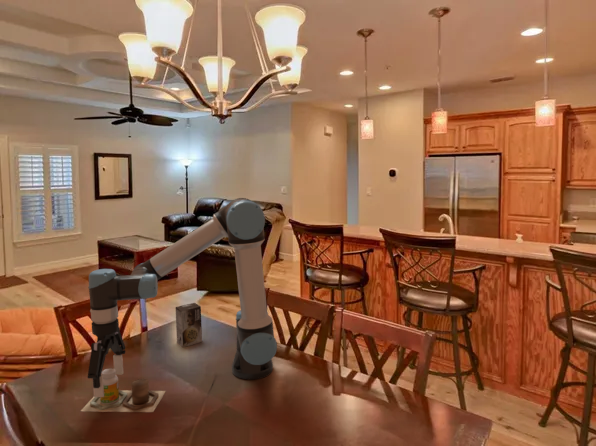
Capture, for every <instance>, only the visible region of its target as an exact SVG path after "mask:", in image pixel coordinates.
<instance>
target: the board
mask: <svg viewBox="0 0 596 446" xmlns="http://www.w3.org/2000/svg"><path fill="white" fill-rule="evenodd" d="M166 392H167V390H150V389H149V401H148V402H147V403H145V404H142V405H134V404H133V403H132V390H127V389H126V390H123V389H122V390H121V389H119V399H118V401H116V402H115V403H112V404H108V405H105V404H102V403H101V401H100V397H94V396H93V397H92V398H91V399H90V400H89V401H88V402H87V403H86V405H85V406H83V408H81V410H80V412H83V413H84V412H87V413H88V412H95V413H98V412H99V413H101V412H102V413H104V412H105V413H106V412H107V413H109V412H111V413H113V412H114V413H154V411H155V410H156V408H157V407H158V405H159V404H160V401H161V400H162V399H163V397H164V395H165V393H166Z"/></svg>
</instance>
